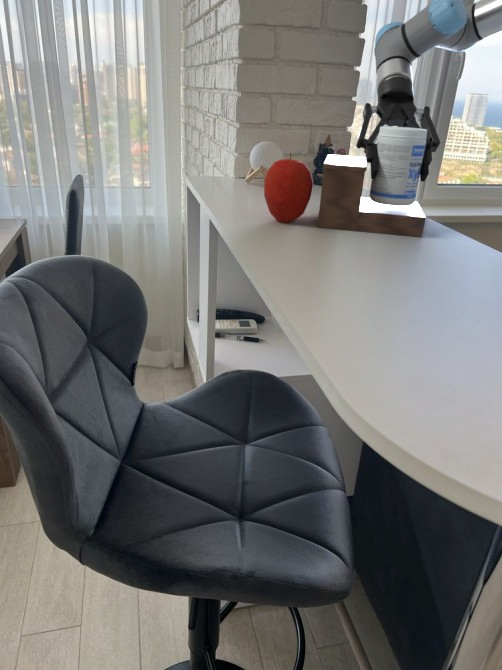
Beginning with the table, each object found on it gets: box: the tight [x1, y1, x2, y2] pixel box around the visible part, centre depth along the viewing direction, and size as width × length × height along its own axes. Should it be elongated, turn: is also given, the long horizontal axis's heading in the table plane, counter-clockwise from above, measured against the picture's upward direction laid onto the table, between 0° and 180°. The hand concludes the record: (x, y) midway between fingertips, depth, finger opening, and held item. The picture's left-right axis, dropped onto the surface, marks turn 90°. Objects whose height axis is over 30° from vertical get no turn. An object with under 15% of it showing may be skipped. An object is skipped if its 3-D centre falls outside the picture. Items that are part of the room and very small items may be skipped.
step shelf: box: [317, 154, 427, 238], centre depth 107 cm, size 21×16×13 cm
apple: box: [263, 152, 315, 224], centre depth 105 cm, size 10×10×14 cm
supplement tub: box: [368, 125, 427, 206], centre depth 104 cm, size 10×10×15 cm
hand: (399, 176), depth 102 cm, fingers closed on supplement tub, 9 cm apart
